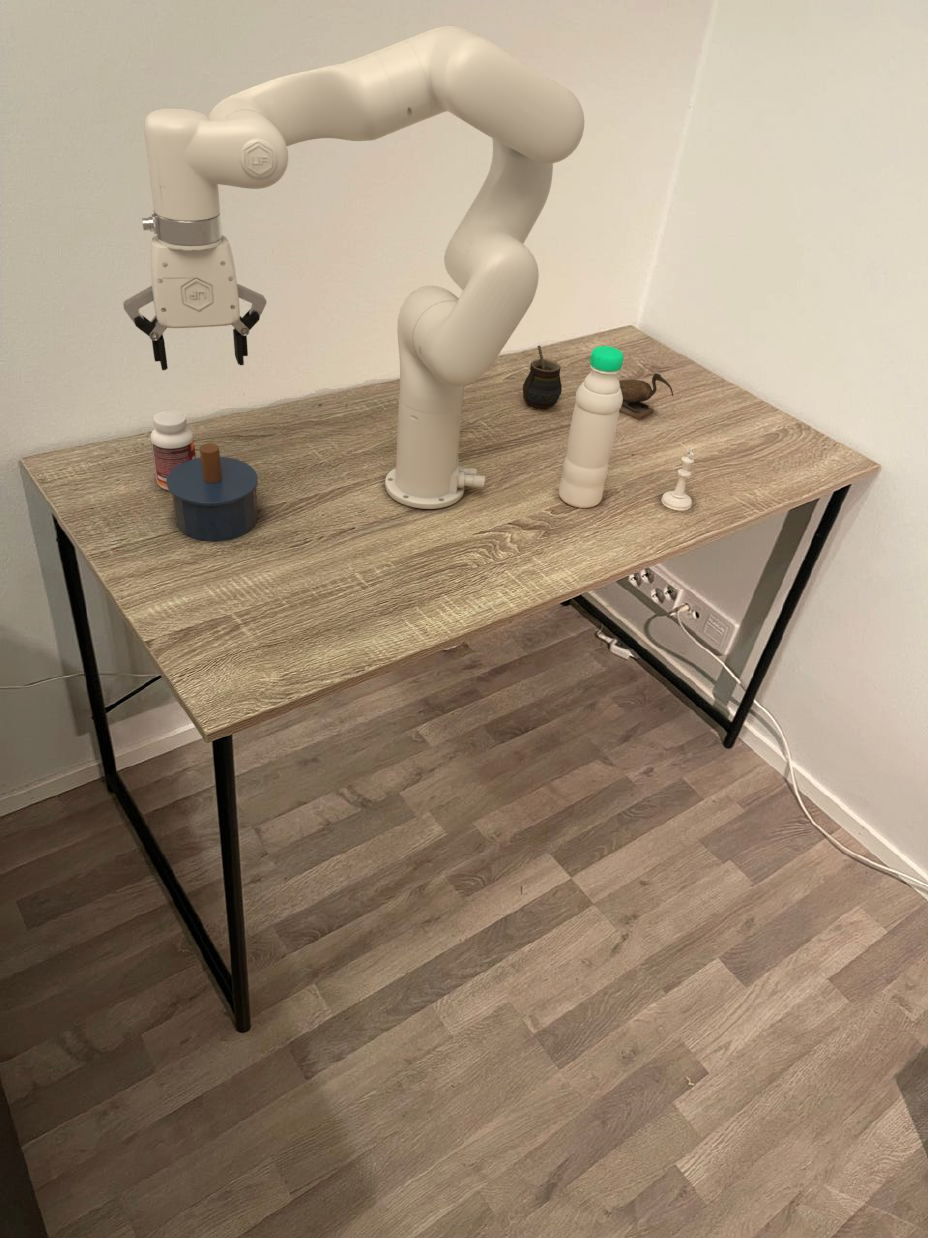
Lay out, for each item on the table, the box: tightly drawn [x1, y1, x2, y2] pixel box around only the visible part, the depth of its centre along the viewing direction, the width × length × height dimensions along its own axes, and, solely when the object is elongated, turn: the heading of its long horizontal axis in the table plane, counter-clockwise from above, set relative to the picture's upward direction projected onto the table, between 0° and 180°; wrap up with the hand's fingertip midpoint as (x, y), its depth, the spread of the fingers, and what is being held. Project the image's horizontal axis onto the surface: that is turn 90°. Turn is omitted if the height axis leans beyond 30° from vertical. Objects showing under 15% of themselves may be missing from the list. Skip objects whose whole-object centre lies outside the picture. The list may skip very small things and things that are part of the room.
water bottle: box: [558, 345, 624, 509], centre depth 142 cm, size 7×7×25 cm
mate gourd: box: [522, 345, 563, 411], centre depth 172 cm, size 7×8×10 cm
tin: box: [171, 487, 259, 542], centre depth 135 cm, size 12×12×6 cm
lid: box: [166, 442, 259, 506], centre depth 132 cm, size 13×13×6 cm
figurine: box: [619, 372, 674, 420], centre depth 173 cm, size 14×4×9 cm, turn 48°
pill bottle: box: [150, 409, 197, 492], centre depth 140 cm, size 6×6×11 cm
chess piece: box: [660, 447, 695, 512], centre depth 149 cm, size 5×5×10 cm
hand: (202, 363), depth 122 cm, fingers open, 9 cm apart
